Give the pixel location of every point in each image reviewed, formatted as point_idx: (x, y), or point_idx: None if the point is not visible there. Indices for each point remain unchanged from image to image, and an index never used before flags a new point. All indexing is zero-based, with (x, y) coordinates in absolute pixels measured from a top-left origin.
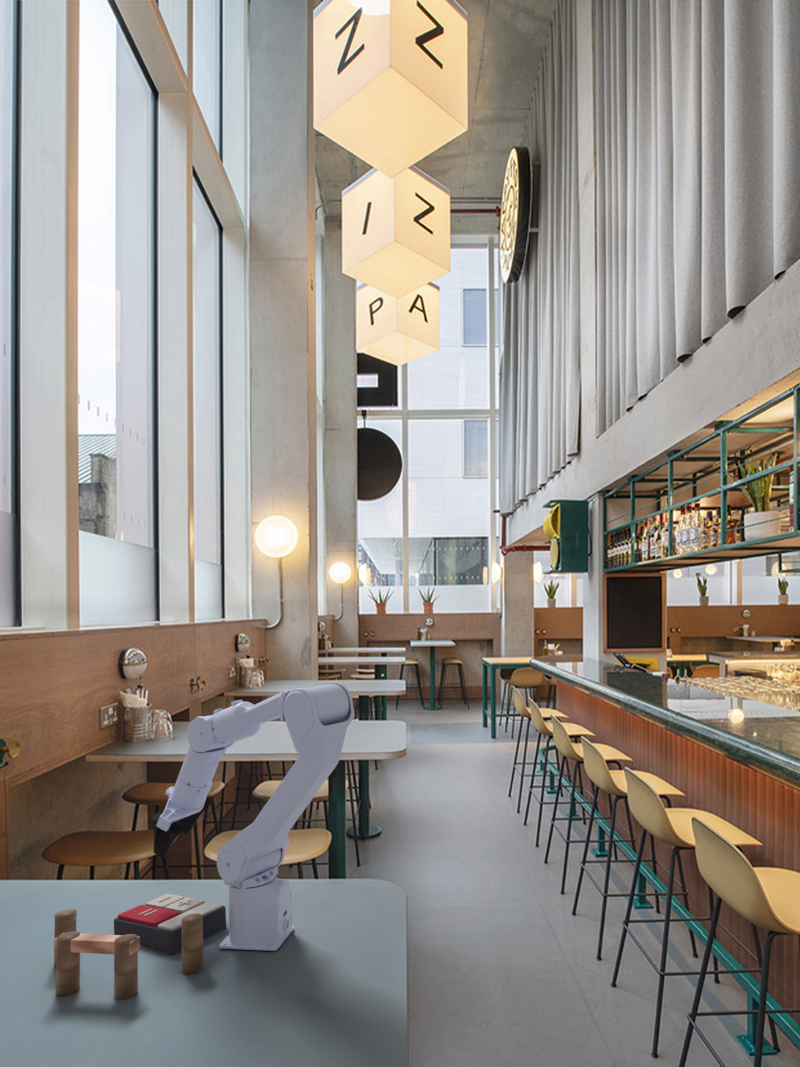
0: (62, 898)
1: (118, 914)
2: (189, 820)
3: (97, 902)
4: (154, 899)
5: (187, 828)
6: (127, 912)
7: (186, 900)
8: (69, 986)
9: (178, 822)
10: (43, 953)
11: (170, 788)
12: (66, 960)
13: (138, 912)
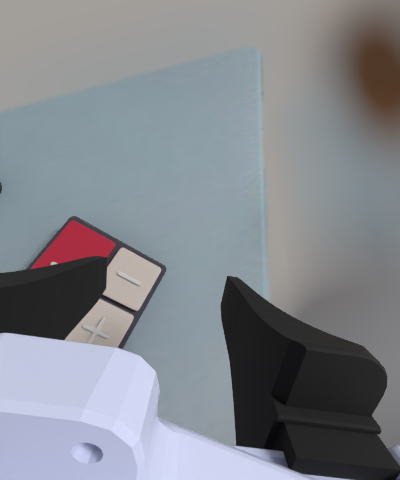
0: (210, 113)
1: (73, 220)
2: (231, 331)
3: (197, 159)
4: (135, 257)
5: (223, 313)
6: (78, 233)
7: (114, 325)
8: None
9: (232, 282)
10: (26, 146)
11: (24, 441)
12: None
13: (70, 255)
